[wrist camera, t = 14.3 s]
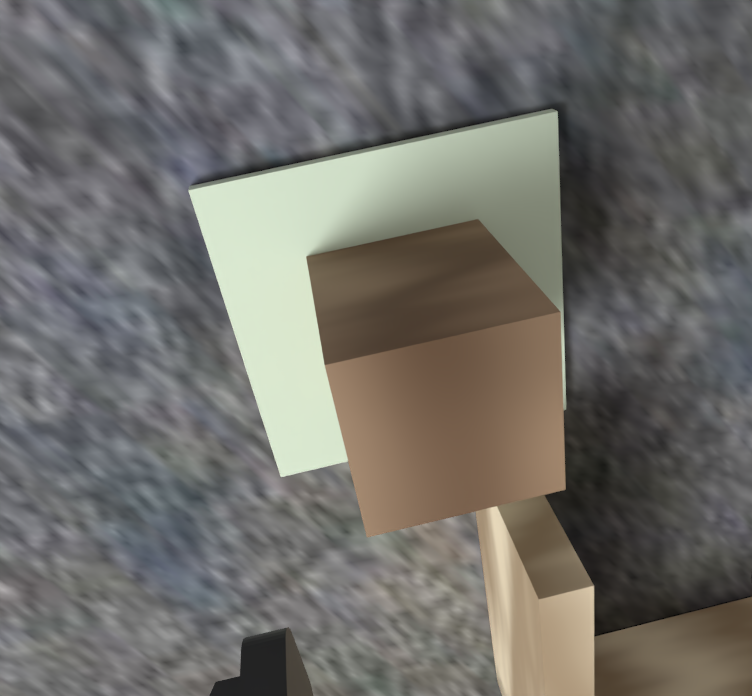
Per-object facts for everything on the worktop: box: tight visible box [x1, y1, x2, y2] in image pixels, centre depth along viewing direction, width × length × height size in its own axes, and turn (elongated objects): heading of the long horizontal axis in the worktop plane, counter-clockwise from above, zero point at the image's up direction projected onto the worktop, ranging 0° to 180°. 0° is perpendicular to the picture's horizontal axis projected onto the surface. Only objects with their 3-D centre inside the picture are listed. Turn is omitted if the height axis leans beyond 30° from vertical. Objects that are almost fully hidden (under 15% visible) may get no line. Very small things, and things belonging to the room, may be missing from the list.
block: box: [306, 219, 566, 537], centre depth 18 cm, size 5×5×6 cm
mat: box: [188, 109, 566, 477], centre depth 20 cm, size 10×10×1 cm
